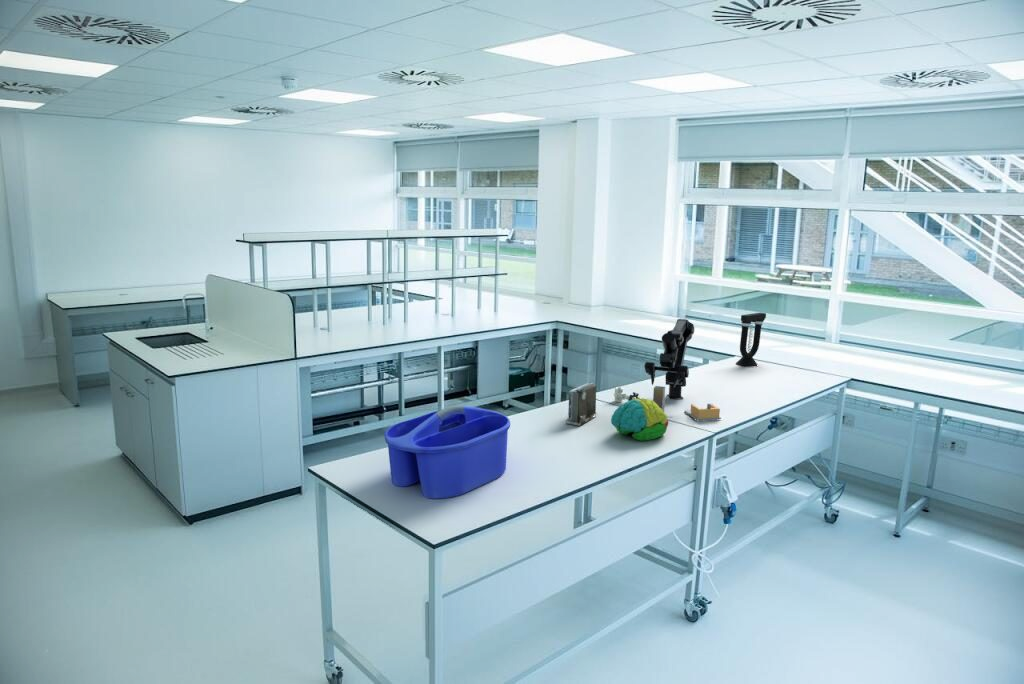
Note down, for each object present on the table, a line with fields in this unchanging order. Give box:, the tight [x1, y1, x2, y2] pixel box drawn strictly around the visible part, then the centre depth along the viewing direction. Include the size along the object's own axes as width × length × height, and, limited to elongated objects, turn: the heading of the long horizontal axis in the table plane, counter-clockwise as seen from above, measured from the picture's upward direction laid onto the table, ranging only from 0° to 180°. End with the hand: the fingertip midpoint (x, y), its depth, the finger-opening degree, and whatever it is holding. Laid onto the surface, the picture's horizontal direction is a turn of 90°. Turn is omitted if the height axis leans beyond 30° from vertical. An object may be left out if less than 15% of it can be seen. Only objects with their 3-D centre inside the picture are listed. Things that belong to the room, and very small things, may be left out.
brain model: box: [610, 398, 669, 442], centre depth 252 cm, size 24×19×15 cm
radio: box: [565, 382, 597, 426], centre depth 273 cm, size 23×9×15 cm, turn 146°
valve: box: [613, 386, 641, 403], centre depth 297 cm, size 7×7×12 cm
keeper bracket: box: [684, 403, 722, 421], centre depth 278 cm, size 12×11×7 cm
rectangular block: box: [652, 385, 666, 412], centre depth 277 cm, size 4×4×13 cm
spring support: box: [735, 312, 767, 367], centre depth 376 cm, size 21×12×30 cm, turn 130°
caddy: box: [384, 404, 511, 500], centre depth 211 cm, size 32×45×23 cm
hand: (662, 385), depth 281 cm, fingers open, 9 cm apart
